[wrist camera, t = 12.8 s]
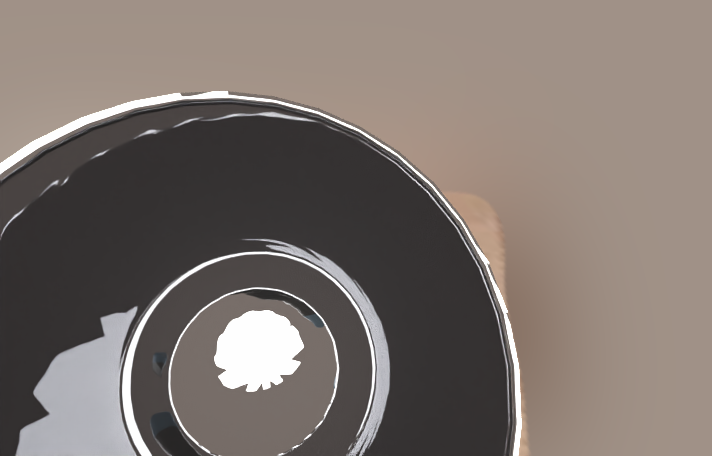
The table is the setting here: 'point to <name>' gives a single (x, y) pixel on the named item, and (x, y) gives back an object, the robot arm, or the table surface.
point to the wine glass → (242, 292)
